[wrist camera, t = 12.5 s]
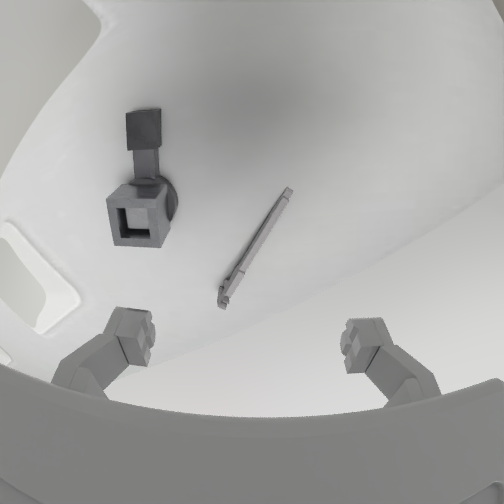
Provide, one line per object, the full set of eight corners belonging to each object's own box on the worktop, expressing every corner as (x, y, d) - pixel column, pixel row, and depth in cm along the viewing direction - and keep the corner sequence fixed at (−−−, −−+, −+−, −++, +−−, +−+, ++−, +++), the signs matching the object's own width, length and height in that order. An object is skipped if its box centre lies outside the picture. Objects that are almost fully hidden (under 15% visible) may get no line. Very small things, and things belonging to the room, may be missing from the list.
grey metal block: (121, 184, 35) (106, 198, 31) (167, 184, 35) (155, 198, 31) (127, 227, 39) (114, 245, 35) (170, 228, 39) (160, 247, 35)
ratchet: (179, 225, 41) (169, 246, 36) (130, 223, 41) (115, 243, 36) (175, 108, 32) (161, 112, 27) (119, 112, 32) (98, 118, 27)
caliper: (224, 289, 48) (221, 315, 43) (218, 287, 48) (215, 313, 43) (292, 189, 39) (299, 208, 34) (286, 186, 39) (291, 203, 33)
